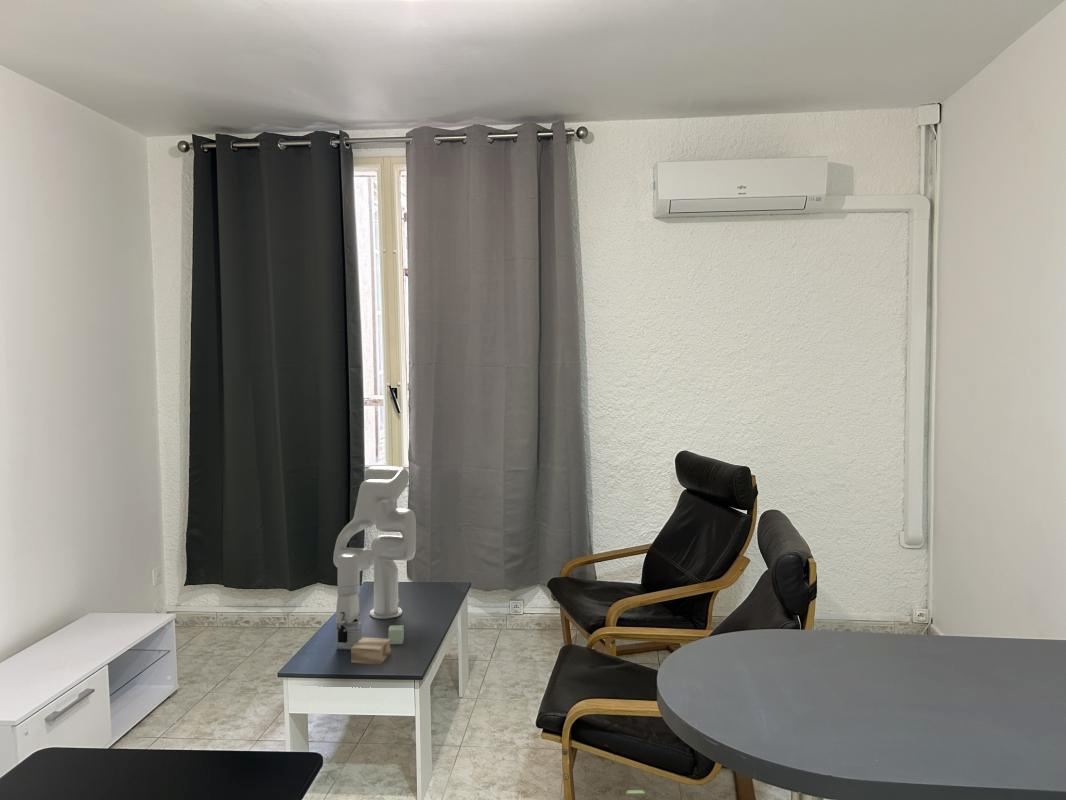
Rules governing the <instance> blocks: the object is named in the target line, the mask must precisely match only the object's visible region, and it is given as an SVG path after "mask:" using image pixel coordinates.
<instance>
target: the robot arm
mask: <svg viewBox="0 0 1066 800" xmlns="http://www.w3.org/2000/svg"><path fill="white" fill-rule="evenodd" d="M363 475H364V481H362V482H361V483H360V485H359V490H358V494H357V499H356V504H355V509H354V513H353V514H354V515H353V518H352V520H351V521H349V522H348V523H347V524H346V525H345V526H344V527H343V528H342V530H341V531H340V533H339V534H338V536H337V538H336V541H335V545H334V550H333V557H332V558H333V561H332V562H333V565H334V566H335V567H336V568H337V600H336V609H335V610H336V612H335V623H336V630H337V629H338V642H342V643H346V642H347V631H346V630H347V626H348V624H350V623H351V622H360V610H361V609H360V608H361V606H360V596H359V595H360V592H361V591H360V587H361V586H360V584H361V583H360V580H361V579H360V576H361V575H360V574H361V573H360V572H361V571H366V570H369V569H370V568H371V567H373V608H372V609H371V610H370V611H369V615H370V617H371V618H373V619H382V620H387V619H389V620H390V619H394V618H397V617H400V616H401V615H402V614H403V609H402V608H401V607H399V602H400V598H399V568H398V565H397V564H396V562H395V561H404V562H405V561H411V560H413V559H414V557H415V555H416V551H417V550H416V548H417V519H416V513H415V512H414V511H413V510H411V509H409V508H400V507H398V499H399V498H400V496H401V495H402V494H403V492H404V491H405V490H406V488H407V486H408V484H409V481H410V475H409V472H408V469H406V468H405V467H401V466H383V465H381V466H379V465H378V466H375V465H374V466H370V467H368V468H366V469H365V470H364V474H363ZM373 526H375V528H376V530H377V531H379V532H381V533H396V534H401V535H395V534H394V535H393V534H391V535H390V534H381V535H377V536H375V537H373V539H372V541H371V545H370V548H371V549H369V548H362V547H361V548H360V547H359V548H358V547H347V546H348V543H349V541H350V539H351V538H352V537H353V536H354V535H356V534H357V533H359V532H361V531H363V530H365V529H368V528H371V527H373ZM342 621H346V622H342ZM343 625H345V626H343Z"/></svg>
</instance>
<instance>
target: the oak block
mask: <svg viewBox="0 0 1066 800" xmlns="http://www.w3.org/2000/svg"><path fill="white" fill-rule="evenodd" d="M350 651H351V652H350V655H351V658H350V662H351V663H352V664H354V663H355V664H364V665H377V666H378V665H379V666H380V665H381V664H382V663H383V662H384V661H385V660H386V659H387V658H388V657H389V656H390V654H391V653H392V652H391V644H390V639H388V638H381V637H368V636H367V637H366V636H365V637H364V636H362V638H361V639H360V640H359V641H358V642H357V643H356V644H355V645H354V646H353V647H352V648H351V649H350Z"/></svg>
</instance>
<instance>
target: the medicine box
mask: <svg viewBox="0 0 1066 800" xmlns="http://www.w3.org/2000/svg"><path fill="white" fill-rule="evenodd" d="M342 622H346V621H342ZM343 626H345V625H343ZM346 631H347V642H346V643H342V642H338V629H337V628H336V650H351V648H352V647H353V646H354V645H355V644H356V643H357V642H358V641H359V640H360V639H361V638H363V622H362V621H357V622H351V623H350V624H348V626H347V630H346Z"/></svg>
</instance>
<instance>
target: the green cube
mask: <svg viewBox="0 0 1066 800" xmlns="http://www.w3.org/2000/svg"><path fill="white" fill-rule="evenodd" d="M404 627H405V626H404V624H403V625H402V624H400V625H398V624H397V625H389V627H388V635H387V636H388V637H387V639H390V645H402V644H403V643H404V636H405V634H404V631H405V630H404Z"/></svg>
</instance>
